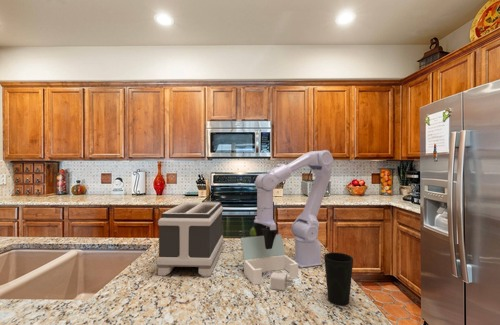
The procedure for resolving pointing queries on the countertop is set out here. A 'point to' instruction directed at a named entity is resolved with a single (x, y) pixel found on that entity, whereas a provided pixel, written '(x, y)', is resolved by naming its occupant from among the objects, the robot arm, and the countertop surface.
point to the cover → (261, 247)
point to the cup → (338, 277)
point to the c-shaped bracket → (269, 267)
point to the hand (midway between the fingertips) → (264, 245)
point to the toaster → (190, 237)
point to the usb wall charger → (280, 281)
